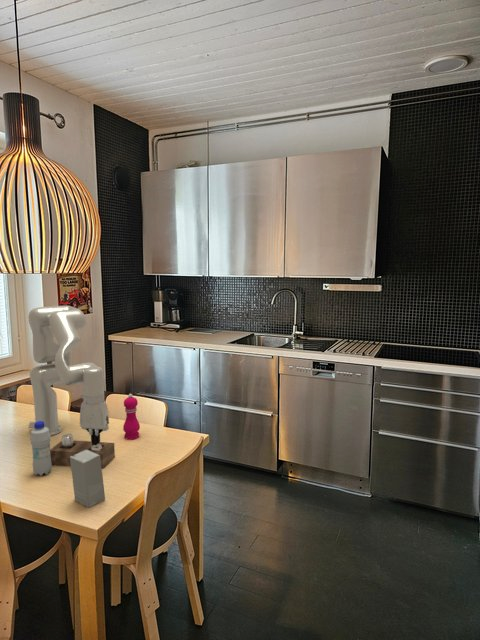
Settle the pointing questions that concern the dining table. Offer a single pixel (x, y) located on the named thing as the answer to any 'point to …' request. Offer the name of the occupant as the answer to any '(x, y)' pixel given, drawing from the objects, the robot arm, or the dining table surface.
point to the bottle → (41, 449)
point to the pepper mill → (131, 418)
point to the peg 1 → (67, 441)
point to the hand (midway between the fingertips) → (95, 443)
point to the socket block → (62, 455)
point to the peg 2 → (96, 447)
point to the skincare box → (87, 478)
